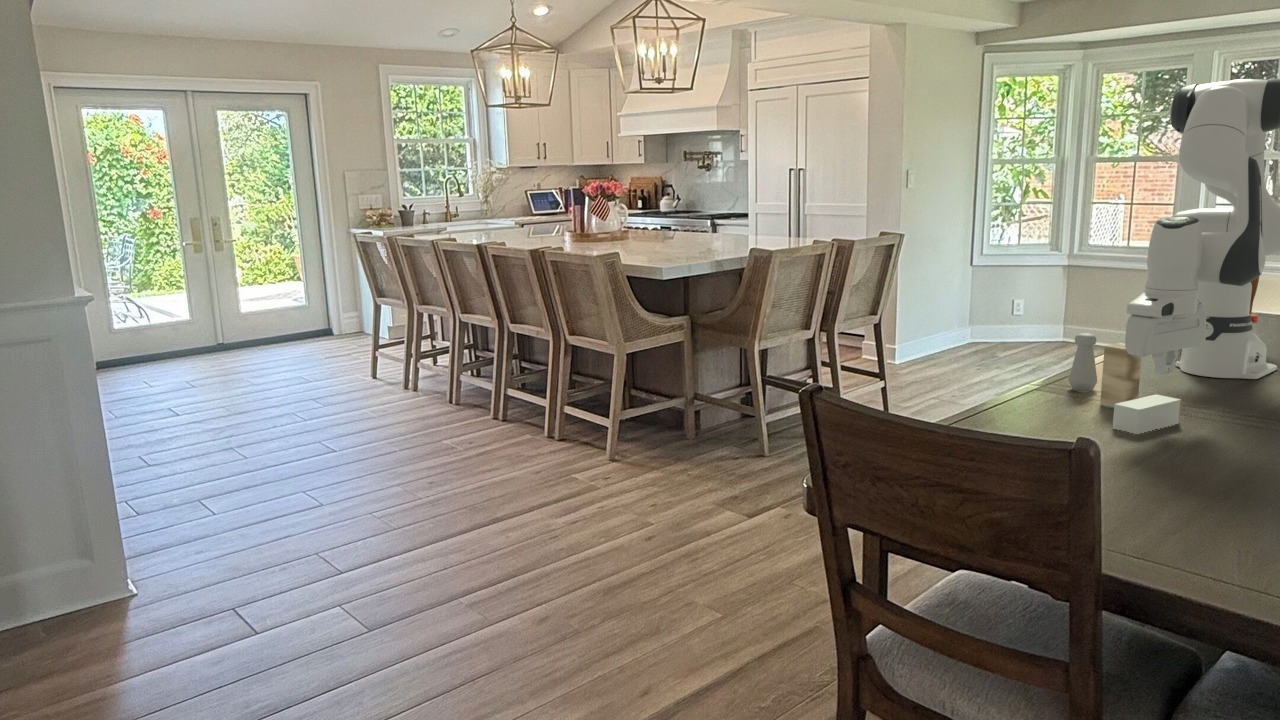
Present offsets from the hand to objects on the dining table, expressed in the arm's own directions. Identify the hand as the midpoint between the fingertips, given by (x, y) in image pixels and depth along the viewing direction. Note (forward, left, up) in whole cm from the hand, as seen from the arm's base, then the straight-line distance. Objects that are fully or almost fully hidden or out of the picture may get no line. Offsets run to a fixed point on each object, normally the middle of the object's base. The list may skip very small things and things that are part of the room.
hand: (1163, 372), depth 173 cm
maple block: (-5, -12, -10) cm, 17 cm away
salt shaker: (-11, -25, -10) cm, 29 cm away
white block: (-2, 0, -8) cm, 8 cm away
